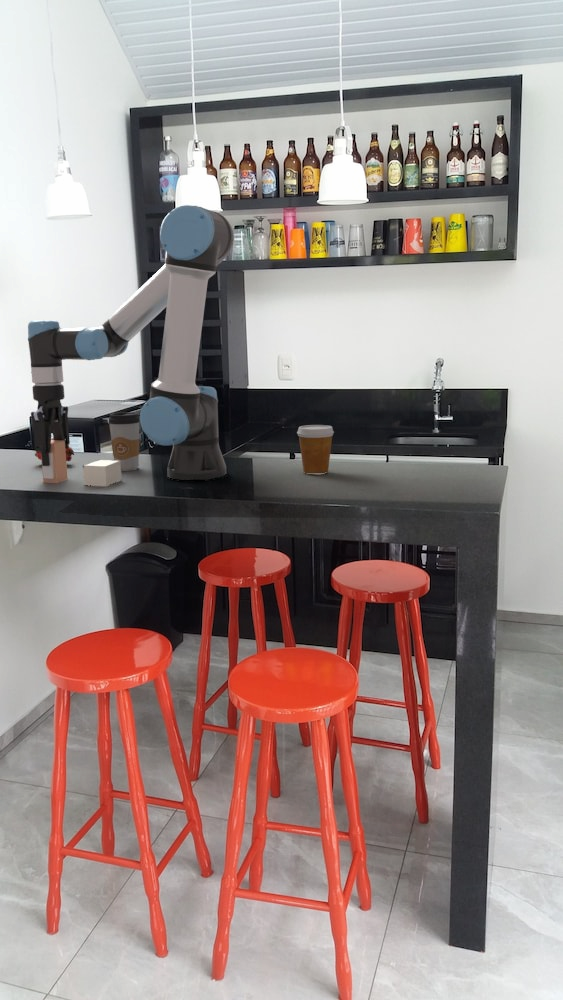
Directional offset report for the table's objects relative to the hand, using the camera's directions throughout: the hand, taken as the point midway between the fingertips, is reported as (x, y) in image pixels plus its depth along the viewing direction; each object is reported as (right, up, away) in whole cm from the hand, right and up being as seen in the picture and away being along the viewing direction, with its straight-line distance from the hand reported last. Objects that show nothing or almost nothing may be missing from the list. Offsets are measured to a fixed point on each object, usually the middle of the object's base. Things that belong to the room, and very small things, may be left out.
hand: (55, 475), depth 211 cm
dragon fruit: (-6, +4, +23) cm, 24 cm away
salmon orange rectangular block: (0, -1, 0) cm, 1 cm away
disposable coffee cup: (+66, +1, +4) cm, 67 cm away
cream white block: (+13, -2, -3) cm, 14 cm away
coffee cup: (+15, +2, +15) cm, 22 cm away
